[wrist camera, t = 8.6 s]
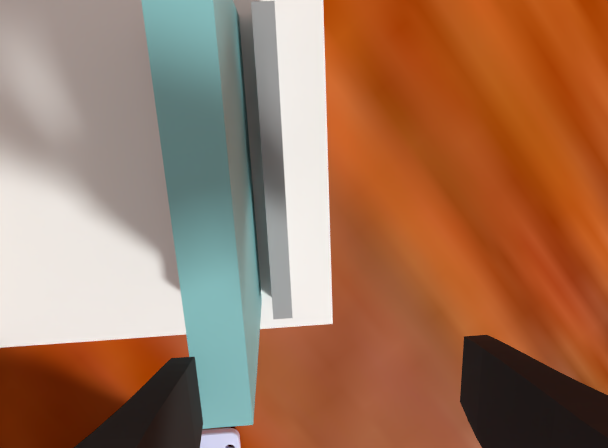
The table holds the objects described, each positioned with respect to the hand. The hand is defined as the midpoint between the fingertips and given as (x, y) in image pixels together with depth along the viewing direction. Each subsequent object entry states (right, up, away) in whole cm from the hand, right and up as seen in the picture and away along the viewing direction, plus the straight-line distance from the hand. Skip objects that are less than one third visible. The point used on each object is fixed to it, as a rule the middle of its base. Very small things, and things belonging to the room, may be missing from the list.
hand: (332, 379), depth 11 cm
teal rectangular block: (-4, +6, +7) cm, 10 cm away
